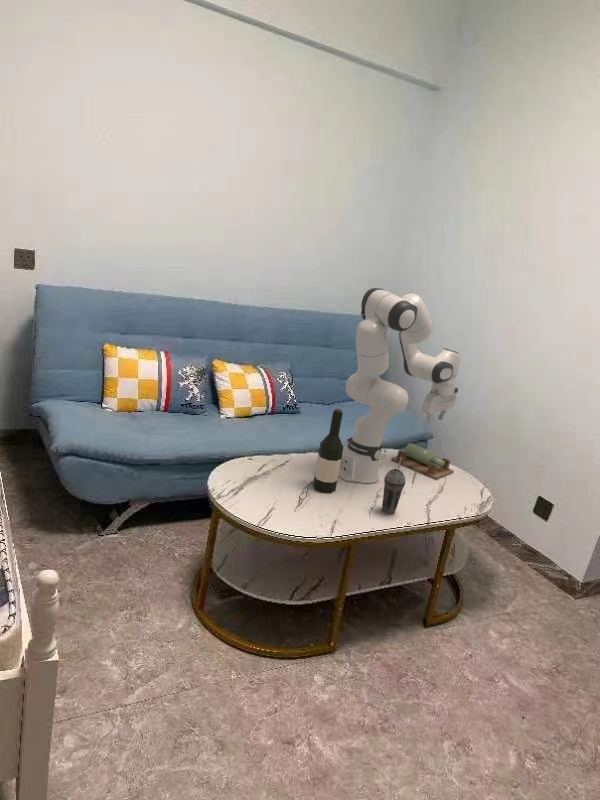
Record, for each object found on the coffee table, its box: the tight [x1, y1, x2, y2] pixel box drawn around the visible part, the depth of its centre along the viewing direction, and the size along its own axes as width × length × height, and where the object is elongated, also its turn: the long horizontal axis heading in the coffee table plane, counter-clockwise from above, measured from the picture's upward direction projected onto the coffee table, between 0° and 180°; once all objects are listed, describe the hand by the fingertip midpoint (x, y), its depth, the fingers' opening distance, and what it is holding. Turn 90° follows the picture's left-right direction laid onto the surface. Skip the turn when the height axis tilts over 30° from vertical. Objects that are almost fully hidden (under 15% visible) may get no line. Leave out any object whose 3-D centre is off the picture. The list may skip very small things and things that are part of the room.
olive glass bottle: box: [404, 442, 445, 467], centre depth 260 cm, size 6×6×17 cm
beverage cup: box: [381, 457, 406, 516], centre depth 211 cm, size 7×7×20 cm
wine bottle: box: [312, 408, 344, 494], centre depth 219 cm, size 8×8×30 cm
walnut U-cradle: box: [390, 449, 454, 481], centre depth 259 cm, size 22×14×5 cm, turn 48°
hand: (434, 420), depth 254 cm, fingers open, 8 cm apart
